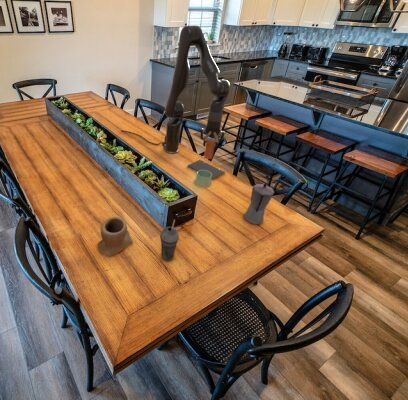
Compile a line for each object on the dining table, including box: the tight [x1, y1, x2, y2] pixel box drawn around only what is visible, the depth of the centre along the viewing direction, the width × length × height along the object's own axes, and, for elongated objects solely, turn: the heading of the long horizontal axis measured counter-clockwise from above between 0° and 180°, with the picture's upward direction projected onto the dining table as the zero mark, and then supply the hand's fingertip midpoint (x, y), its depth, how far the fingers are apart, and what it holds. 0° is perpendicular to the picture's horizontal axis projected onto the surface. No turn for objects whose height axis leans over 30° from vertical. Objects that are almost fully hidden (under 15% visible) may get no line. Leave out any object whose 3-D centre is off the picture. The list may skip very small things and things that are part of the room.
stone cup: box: [96, 216, 133, 257], centre depth 108 cm, size 15×12×15 cm
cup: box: [194, 170, 212, 188], centre depth 154 cm, size 9×9×6 cm
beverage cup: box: [159, 219, 180, 262], centre depth 104 cm, size 7×7×20 cm
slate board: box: [187, 159, 226, 181], centre depth 167 cm, size 20×12×2 cm, turn 44°
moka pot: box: [243, 183, 275, 225], centre depth 126 cm, size 10×15×20 cm, turn 161°
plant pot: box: [203, 137, 216, 160], centre depth 159 cm, size 6×6×11 cm
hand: (209, 146), depth 158 cm, fingers closed on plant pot, 6 cm apart
